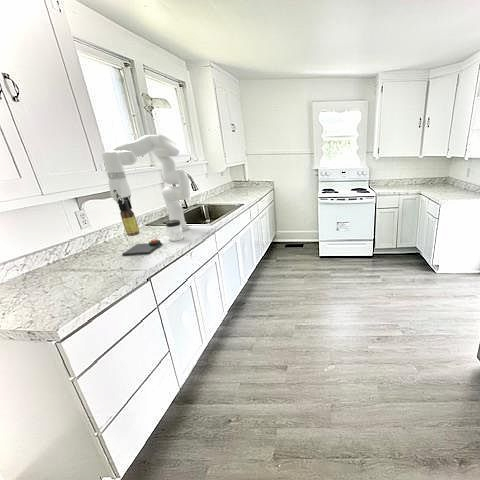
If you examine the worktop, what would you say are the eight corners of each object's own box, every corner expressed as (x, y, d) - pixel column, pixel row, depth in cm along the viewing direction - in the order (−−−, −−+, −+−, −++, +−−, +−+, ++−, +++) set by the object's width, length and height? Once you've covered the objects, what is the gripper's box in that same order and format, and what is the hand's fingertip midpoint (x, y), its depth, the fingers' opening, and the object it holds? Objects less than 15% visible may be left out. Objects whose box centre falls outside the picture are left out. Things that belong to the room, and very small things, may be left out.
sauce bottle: (142, 233, 150) (132, 199, 143) (130, 237, 145) (119, 202, 138) (136, 232, 153) (126, 198, 146) (124, 235, 148) (114, 201, 141)
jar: (170, 242, 167) (166, 223, 163) (167, 239, 172) (163, 221, 168) (185, 238, 172) (182, 221, 168) (181, 235, 178) (178, 218, 174)
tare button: (153, 241, 160) (152, 239, 160) (158, 241, 160) (157, 238, 160) (150, 243, 157) (150, 240, 157) (156, 242, 158) (155, 240, 157)
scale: (138, 245, 161) (136, 241, 160) (162, 244, 163) (161, 239, 162) (122, 256, 146) (121, 251, 145) (150, 254, 147) (148, 249, 146)
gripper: (118, 174, 145) (127, 207, 151) (98, 177, 129) (109, 213, 135) (133, 174, 146) (141, 206, 152) (114, 177, 130) (124, 213, 136)
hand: (126, 209), depth 144 cm, fingers closed on sauce bottle, 4 cm apart
